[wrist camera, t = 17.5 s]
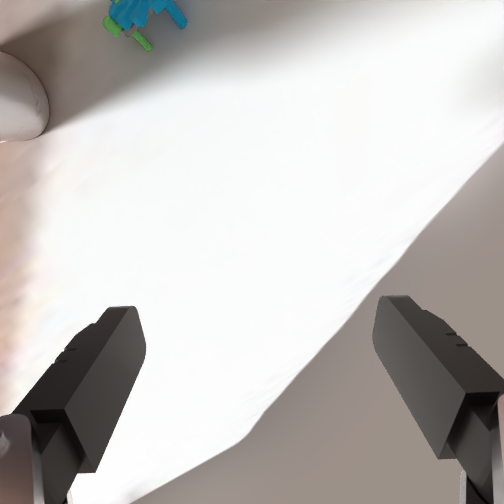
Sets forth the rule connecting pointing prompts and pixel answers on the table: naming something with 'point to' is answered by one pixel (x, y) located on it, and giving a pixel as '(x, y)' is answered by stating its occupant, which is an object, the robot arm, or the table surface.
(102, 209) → the table surface
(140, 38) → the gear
